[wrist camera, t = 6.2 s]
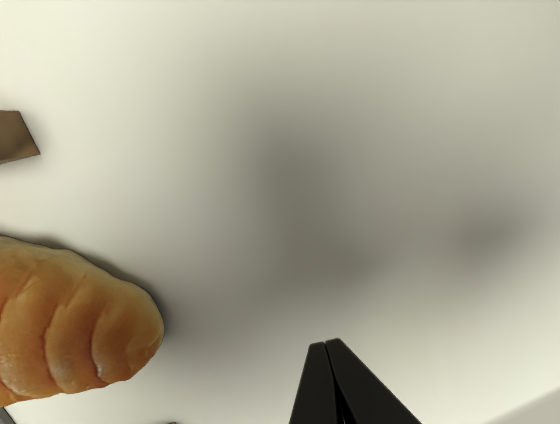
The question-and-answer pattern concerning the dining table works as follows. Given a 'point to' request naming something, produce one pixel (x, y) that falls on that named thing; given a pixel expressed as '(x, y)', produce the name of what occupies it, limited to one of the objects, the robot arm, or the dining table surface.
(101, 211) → the dining table surface
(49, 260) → the pastry
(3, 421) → the mat
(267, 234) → the dining table surface
